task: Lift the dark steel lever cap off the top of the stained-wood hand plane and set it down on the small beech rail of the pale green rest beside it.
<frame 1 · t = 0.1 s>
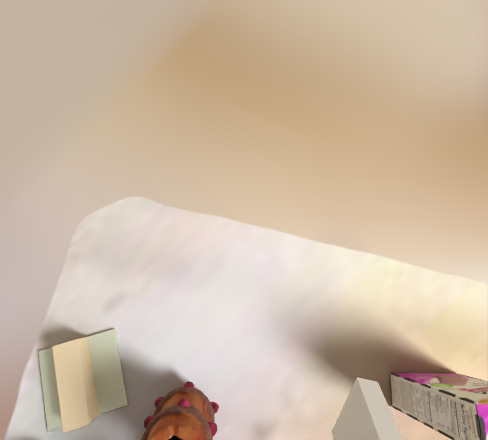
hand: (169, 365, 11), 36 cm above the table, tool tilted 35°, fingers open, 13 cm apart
rest: (83, 377, 42), on the table
candy bar box: (423, 388, 46), on the table
mug: (182, 436, 41), on the table
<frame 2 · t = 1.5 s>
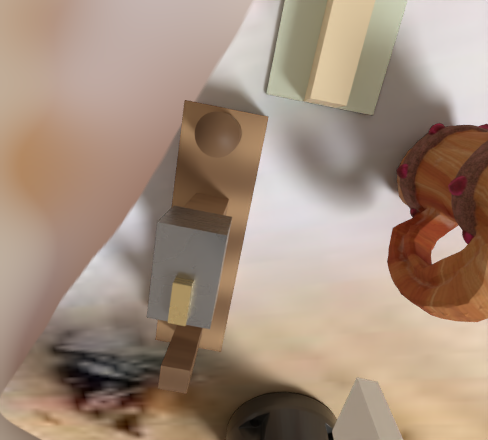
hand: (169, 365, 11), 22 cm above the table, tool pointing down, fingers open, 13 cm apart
lever cap: (196, 253, 24), point 9 cm above the table, touching plane body
rest: (333, 45, 27), on the table
plane body: (211, 228, 33), on the table
mug: (410, 189, 31), on the table
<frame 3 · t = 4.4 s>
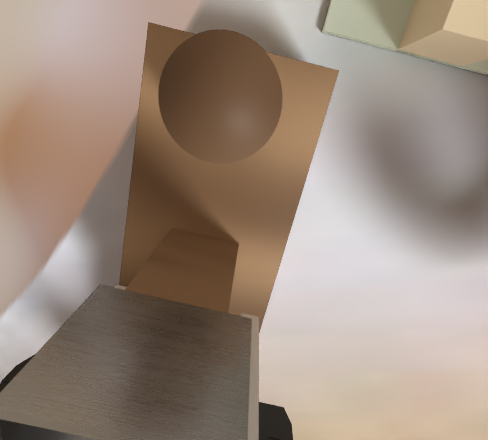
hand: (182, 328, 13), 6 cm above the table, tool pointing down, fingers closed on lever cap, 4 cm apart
lever cap: (159, 392, 10), point 9 cm above the table, touching gripper, plane body
plane body: (202, 277, 19), on the table
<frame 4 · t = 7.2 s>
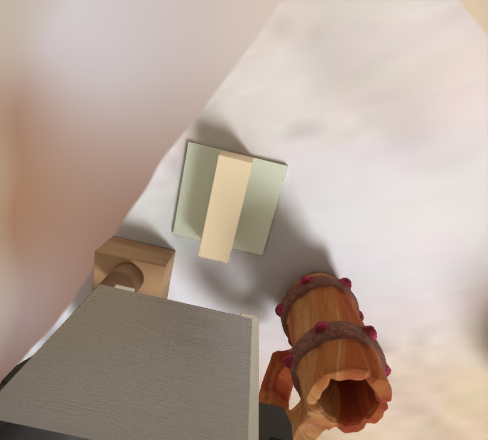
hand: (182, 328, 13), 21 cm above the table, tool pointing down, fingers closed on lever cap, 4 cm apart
lever cap: (159, 392, 10), point 24 cm above the table, touching gripper
rest: (227, 200, 32), on the table
plane body: (132, 330, 38), on the table
mug: (299, 309, 36), on the table
when the fingers open (2 cm above the table, at t = 10.1 s): lever cap drops 1 cm, resting on rest.
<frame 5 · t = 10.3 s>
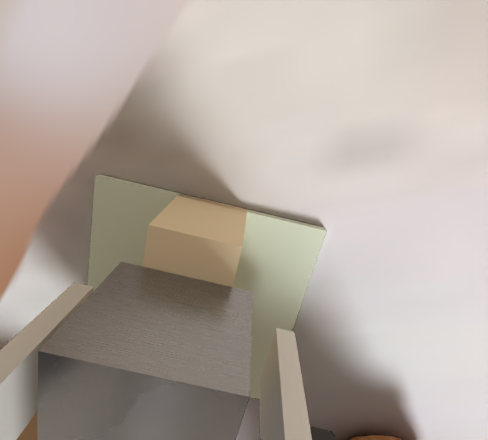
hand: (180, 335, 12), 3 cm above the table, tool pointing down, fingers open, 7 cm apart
lever cap: (171, 359, 11), point 4 cm above the table, touching rest
rest: (193, 297, 15), on the table
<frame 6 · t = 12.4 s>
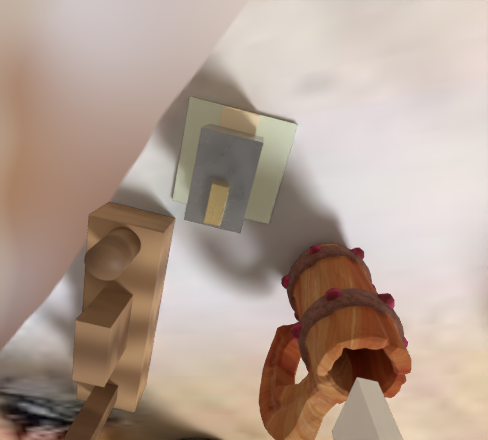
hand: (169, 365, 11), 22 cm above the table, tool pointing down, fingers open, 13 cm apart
lever cap: (227, 172, 26), point 4 cm above the table, touching rest
rest: (232, 163, 30), on the table
plane body: (129, 303, 36), on the table
mug: (306, 284, 34), on the table
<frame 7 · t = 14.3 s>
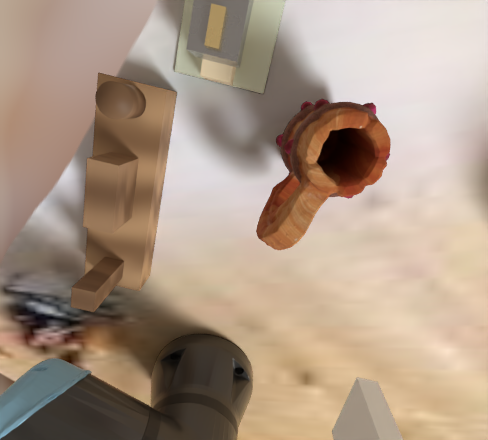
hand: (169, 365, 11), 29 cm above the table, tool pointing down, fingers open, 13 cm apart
lever cap: (225, 22, 29), point 4 cm above the table, touching rest
rest: (229, 32, 33), on the table
plane body: (134, 186, 39), on the table
mug: (299, 159, 37), on the table
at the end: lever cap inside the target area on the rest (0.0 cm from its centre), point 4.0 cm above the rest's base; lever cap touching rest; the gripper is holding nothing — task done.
